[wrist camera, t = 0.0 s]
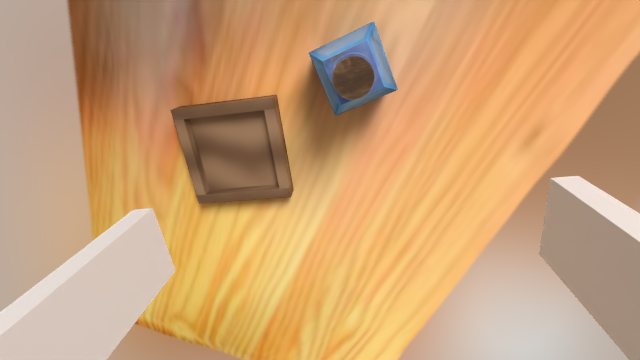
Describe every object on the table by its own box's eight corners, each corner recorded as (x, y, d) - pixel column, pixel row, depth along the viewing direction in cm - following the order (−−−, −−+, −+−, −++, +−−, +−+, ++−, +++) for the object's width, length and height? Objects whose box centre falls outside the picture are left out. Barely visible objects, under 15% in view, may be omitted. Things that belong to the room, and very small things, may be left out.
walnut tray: (179, 106, 39) (170, 110, 37) (276, 94, 37) (272, 97, 36) (205, 196, 44) (199, 203, 42) (293, 189, 42) (290, 196, 40)
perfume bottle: (338, 104, 37) (331, 131, 26) (316, 50, 35) (298, 55, 24) (391, 81, 36) (406, 100, 25) (370, 24, 34) (378, 17, 23)
